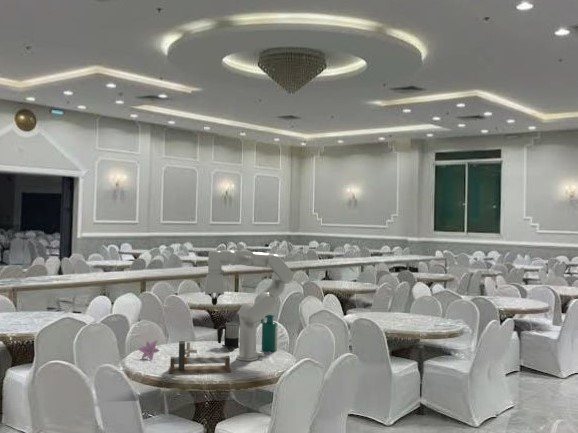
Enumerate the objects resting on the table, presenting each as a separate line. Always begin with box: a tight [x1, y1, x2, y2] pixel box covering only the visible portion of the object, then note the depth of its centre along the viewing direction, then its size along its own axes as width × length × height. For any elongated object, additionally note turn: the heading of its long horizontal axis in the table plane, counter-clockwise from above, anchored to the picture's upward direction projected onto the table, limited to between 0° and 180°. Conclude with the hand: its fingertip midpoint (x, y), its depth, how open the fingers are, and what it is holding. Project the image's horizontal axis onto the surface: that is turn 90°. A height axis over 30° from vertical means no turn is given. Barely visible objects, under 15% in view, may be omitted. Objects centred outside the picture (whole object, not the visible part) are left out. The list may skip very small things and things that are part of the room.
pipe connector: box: [185, 341, 198, 357], centre depth 349 cm, size 10×10×10 cm
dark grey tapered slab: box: [178, 340, 186, 370], centre depth 324 cm, size 3×8×14 cm, turn 10°
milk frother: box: [216, 322, 240, 351], centre depth 380 cm, size 14×16×15 cm
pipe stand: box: [168, 355, 232, 375], centre depth 326 cm, size 32×11×7 cm, turn 100°
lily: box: [137, 339, 161, 361], centre depth 351 cm, size 12×12×10 cm
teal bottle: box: [260, 314, 278, 353], centre depth 377 cm, size 10×8×22 cm
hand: (214, 305), depth 346 cm, fingers closed
